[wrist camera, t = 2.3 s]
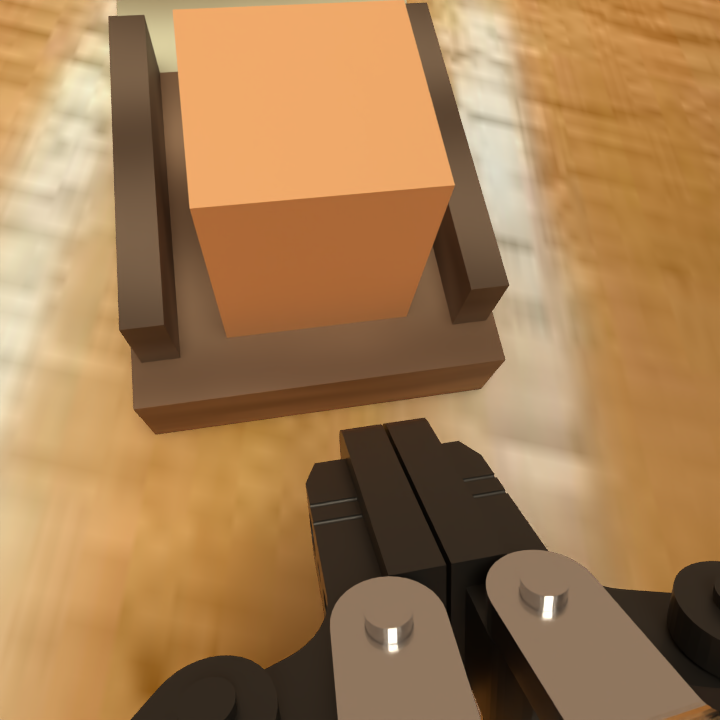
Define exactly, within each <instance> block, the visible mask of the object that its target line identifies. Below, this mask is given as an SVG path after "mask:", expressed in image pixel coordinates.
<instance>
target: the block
mask: <svg viewBox="0 0 720 720" xmlns="http://www.w3.org/2000/svg"><path fill="white" fill-rule="evenodd" d="M173 21H174V32H175V44H176V56H177V67H178V79H179V90H180V102H181V114H182V125H183V137H184V148H185V160H186V172H187V183H188V195H189V207H190V211H191V215H192V218H193V222H194V225H195V229H196V232H197V236H198V239H199V243H200V246H201V250H202V253H203V257H204V260H205V264H206V267H207V271H208V274H209V278H210V281H211V284H212V288H213V291H214V295H215V298H216V302H217V305H218V309H219V312H220V316H221V319H222V323H223V326H224V330H225V333H226V337H227V338H231V337H239V336H247V335H256V334H264V333H272V332H281V331H289V330H297V329H306V328H314V327H323V326H331V325H339V324H348V323H356V322H364V321H373V320H381V319H389V318H398V317H406V316H407V314H408V311H409V308H410V305H411V303H412V300H413V297H414V295H415V292H416V289H417V287H418V284H419V281H420V278H421V276H422V273H423V270H424V268H425V265H426V262H427V259H428V257H429V254H430V251H431V249H432V246H433V243H434V241H435V238H436V235H437V232H438V230H439V227H440V224H441V222H442V219H443V216H444V213H445V211H446V208H447V205H448V203H449V200H450V197H451V195H452V192H453V189H454V186H455V183H454V180H453V176H452V173H451V169H450V165H449V162H448V158H447V154H446V151H445V147H444V143H443V140H442V136H441V132H440V129H439V125H438V121H437V118H436V114H435V111H434V107H433V103H432V100H431V96H430V92H429V89H428V85H427V81H426V78H425V74H424V70H423V67H422V63H421V60H420V56H419V52H418V49H417V45H416V41H415V38H414V34H413V30H412V27H411V23H410V19H409V16H408V12H407V8H406V5H405V1H404V0H391V1H367V2H343V3H319V4H295V5H271V6H247V7H223V8H199V9H175V10H173Z"/></svg>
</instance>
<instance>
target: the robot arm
mask: <svg viewBox="0 0 720 720" xmlns="http://www.w3.org/2000/svg"><path fill="white" fill-rule="evenodd" d="M339 438H340V452H341V459H340V460H334V461H327V462H321V463H315V464H314V466H313V468H312V471H311V473H310V475H309V477H308V479H307V482H306V490H307V499H308V508H309V517H310V526H311V534H312V543H313V552H314V559H315V564H316V570H317V576H318V581H319V587H320V593H321V598H322V604H323V610H324V616H325V618H324V621H323V623H322V625H321V627H320V629H319V630H318V632H317V633H316V634H315V636H314V637H313V638H312V639H311V640H310V641H309V642H308V643H307V644H306V645H305V646H304V647H303V648H301V649H300V650H299V651H298V652H296V653H294V654H293V655H291V656H289V657H288V658H286V659H284V660H282V661H280V662H278V663H276V664H274V665H272V666H270V667H268V668H267V669H265V670H264V669H263V668H262V667H261V666H259V665H258V664H256V663H254V662H253V661H251V660H248V659H245V658H242V657H237V656H215V657H209V658H206V659H202V660H199V661H196V662H194V663H192V664H190V665H187V666H186V667H184V668H182V669H181V670H179V671H177V672H176V673H175V674H174V675H172V676H171V677H170V678H168V679H167V680H166V681H165V682H164V683H163V684H162V685H161V686H160V687H159V688H158V689H157V690H156V692H155V693H154V694H153V695H152V696H151V697H150V698H149V700H148V701H147V702H146V703H145V704H144V705H143V706H142V707H141V709H140V710H139V711H138V712H137V713H136V714H135V715H134V717H133V718H132V719H131V720H720V561H706V562H698V563H694V564H691V565H689V566H687V567H685V568H684V569H682V570H681V571H680V572H679V573H678V575H677V576H676V578H675V581H674V584H673V589H672V593H665V592H651V591H637V590H623V589H615V588H609V587H605V586H602V585H601V584H600V583H599V582H598V580H597V579H596V578H595V577H594V576H593V575H592V574H591V573H590V572H589V571H588V570H587V569H586V568H584V567H583V566H582V565H580V564H579V563H577V562H576V561H574V560H572V559H570V558H568V557H565V556H563V555H560V554H557V553H554V552H549V551H548V550H547V549H546V548H545V546H544V545H543V543H542V542H541V540H540V539H539V538H538V536H537V535H536V533H535V532H534V530H533V529H532V527H531V526H530V525H529V523H528V522H527V520H526V519H525V517H524V516H523V515H522V513H521V512H520V510H519V509H518V507H517V506H516V504H515V503H514V502H513V500H512V499H511V497H510V496H509V494H508V493H505V489H504V487H503V486H502V484H501V483H500V482H499V480H498V479H497V477H496V478H495V477H494V473H493V471H492V470H491V469H490V467H489V466H488V464H487V463H486V461H485V460H484V459H483V457H482V456H481V455H480V454H479V453H477V452H475V451H474V450H472V449H471V448H469V447H467V446H466V445H464V444H463V443H461V442H459V441H455V442H449V443H443V444H441V443H440V441H439V439H438V438H437V436H436V434H435V433H434V431H433V429H432V428H431V426H430V424H429V423H428V421H427V420H426V419H425V418H419V419H413V420H406V421H399V422H392V423H385V424H383V426H382V425H381V424H380V425H373V426H366V427H359V428H353V429H346V430H340V434H339ZM472 691H473V693H474V696H475V698H476V701H477V703H478V706H479V708H480V711H481V719H480V716H479V713H478V710H477V706H476V703H475V700H474V697H473V694H472Z"/></svg>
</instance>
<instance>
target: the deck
mask: <svg viewBox="0 0 720 720" xmlns="http://www.w3.org/2000/svg"><path fill="white" fill-rule="evenodd" d="M367 1H391V0H117V16H108V17H109V46H110V75H111V104H112V133H113V162H114V191H115V220H116V249H117V278H118V307H119V330H120V332H121V333H122V335H123V336H124V338H125V339H126V341H127V342H128V344H129V345H130V347H131V360H132V384H133V408H134V410H135V412H136V413H137V414H138V415H139V416H140V417H141V418H142V419H143V421H144V422H145V423H146V424H147V425H148V426H149V427H150V428H151V430H152V431H153V432H154V433H155V434H161V433H168V432H175V431H182V430H190V429H197V428H204V427H211V426H218V425H225V424H232V423H239V422H247V421H254V420H261V419H268V418H275V417H282V416H289V415H297V414H304V413H311V412H318V411H325V410H332V409H339V408H346V407H354V406H361V405H368V404H375V403H382V402H389V401H396V400H404V399H411V398H418V397H425V396H432V395H439V394H446V393H453V392H461V391H468V390H475V389H481V388H482V387H483V385H484V384H485V383H486V382H487V381H488V380H489V378H490V377H491V376H492V375H493V374H494V373H495V371H496V370H497V369H498V368H499V367H500V365H501V364H502V363H503V362H504V361H505V356H504V353H503V349H502V346H501V342H500V338H499V335H498V331H497V327H496V324H495V320H494V317H493V313H492V310H493V309H494V307H495V306H496V304H497V303H498V301H499V300H500V298H501V297H502V295H503V294H504V292H505V291H506V289H507V288H508V286H509V283H508V280H507V276H506V273H505V269H504V266H503V262H502V259H501V256H500V252H499V249H498V245H497V242H496V238H495V235H494V232H493V228H492V225H491V221H490V218H489V214H488V211H487V208H486V204H485V201H484V197H483V194H482V190H481V187H480V184H479V180H478V177H477V173H476V170H475V166H474V163H473V160H472V156H471V153H470V149H469V146H468V142H467V139H466V136H465V132H464V129H463V125H462V122H461V119H460V115H459V112H458V108H457V105H456V101H455V98H454V95H453V91H452V88H451V84H450V81H449V77H448V74H447V71H446V67H445V64H444V60H443V57H442V53H441V50H440V47H439V43H438V40H437V36H436V33H435V29H434V26H433V23H432V19H431V16H430V12H429V9H428V5H427V3H409V4H407V1H406V0H404V1H405V5H406V8H407V12H408V16H409V19H410V23H411V27H412V30H413V34H414V38H415V41H416V45H417V49H418V52H419V56H420V60H421V63H422V67H423V70H424V74H425V78H426V81H427V85H428V89H429V92H430V96H431V100H432V103H433V107H434V111H435V114H436V118H437V121H438V125H439V129H440V132H441V136H442V140H443V143H444V147H445V151H446V154H447V158H448V162H449V165H450V169H451V173H452V176H453V180H454V183H455V186H454V189H453V192H452V195H451V197H450V200H449V203H448V205H447V208H446V211H445V213H444V216H443V219H442V222H441V224H440V227H439V230H438V232H437V235H436V238H435V241H434V243H433V246H432V249H431V251H430V254H429V257H428V259H427V262H426V265H425V268H424V270H423V273H422V276H421V278H420V281H419V284H418V287H417V289H416V292H415V295H414V297H413V300H412V303H411V305H410V308H409V311H408V314H407V316H406V317H398V318H389V319H381V320H373V321H364V322H356V323H348V324H339V325H331V326H323V327H314V328H306V329H297V330H289V331H281V332H272V333H264V334H256V335H247V336H239V337H231V338H227V337H226V333H225V330H224V326H223V323H222V319H221V316H220V312H219V309H218V305H217V302H216V298H215V295H214V291H213V288H212V284H211V281H210V278H209V274H208V271H207V267H206V264H205V260H204V257H203V253H202V250H201V246H200V243H199V239H198V236H197V232H196V229H195V225H194V222H193V218H192V215H191V211H190V207H189V195H188V183H187V172H186V160H185V148H184V137H183V125H182V114H181V102H180V90H179V79H178V67H177V56H176V44H175V32H174V21H173V10H175V9H199V8H223V7H247V6H271V5H295V4H319V3H343V2H367Z"/></svg>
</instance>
